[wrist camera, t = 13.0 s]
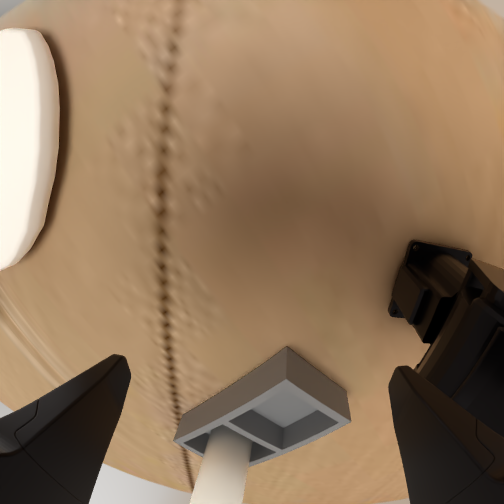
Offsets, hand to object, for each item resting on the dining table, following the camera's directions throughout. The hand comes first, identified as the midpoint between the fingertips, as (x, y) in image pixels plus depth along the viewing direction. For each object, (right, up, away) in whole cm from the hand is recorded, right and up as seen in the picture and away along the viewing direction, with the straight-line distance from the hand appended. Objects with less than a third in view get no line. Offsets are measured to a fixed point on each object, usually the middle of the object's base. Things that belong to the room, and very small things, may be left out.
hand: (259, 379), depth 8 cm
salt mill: (-2, -15, +19) cm, 24 cm away
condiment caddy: (0, -12, +19) cm, 22 cm away
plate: (-29, +15, +12) cm, 35 cm away
